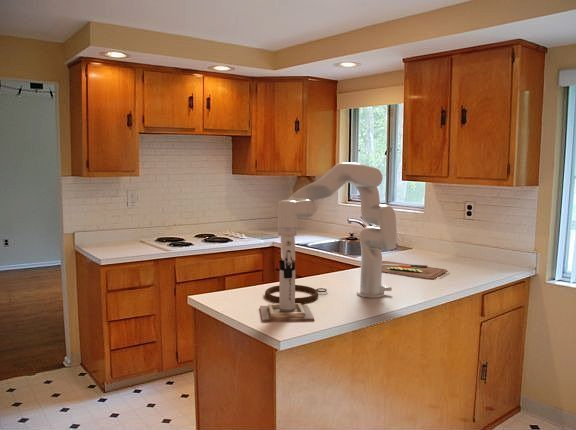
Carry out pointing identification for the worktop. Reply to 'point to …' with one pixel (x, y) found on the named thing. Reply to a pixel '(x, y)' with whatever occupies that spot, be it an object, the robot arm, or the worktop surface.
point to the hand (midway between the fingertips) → (286, 275)
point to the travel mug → (286, 290)
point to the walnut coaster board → (285, 313)
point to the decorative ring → (298, 288)
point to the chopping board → (413, 270)
